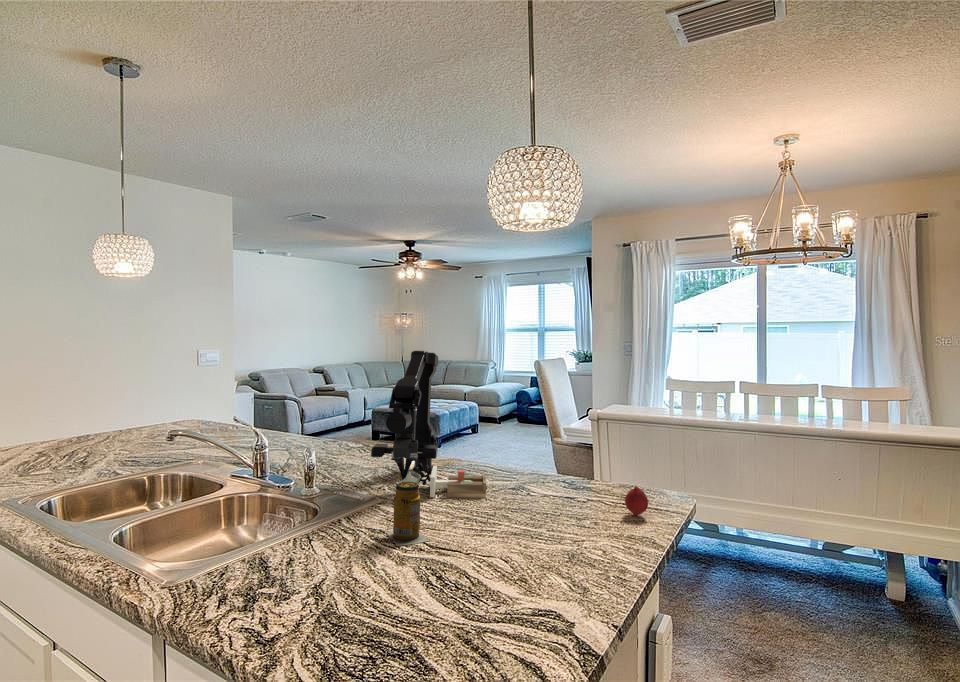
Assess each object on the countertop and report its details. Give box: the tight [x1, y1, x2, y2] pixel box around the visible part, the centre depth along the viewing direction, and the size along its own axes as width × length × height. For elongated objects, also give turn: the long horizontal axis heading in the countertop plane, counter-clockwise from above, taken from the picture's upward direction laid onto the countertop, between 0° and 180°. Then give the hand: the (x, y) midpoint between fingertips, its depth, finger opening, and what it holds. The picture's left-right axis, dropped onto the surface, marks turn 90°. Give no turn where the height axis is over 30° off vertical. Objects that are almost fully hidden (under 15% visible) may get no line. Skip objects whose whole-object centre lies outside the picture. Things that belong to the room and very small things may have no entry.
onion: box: [624, 484, 649, 516], centre depth 134 cm, size 6×6×8 cm
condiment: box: [386, 481, 429, 547], centre depth 117 cm, size 7×8×12 cm
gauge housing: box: [446, 473, 487, 499], centre depth 151 cm, size 10×11×4 cm
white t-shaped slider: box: [429, 465, 471, 498], centre depth 151 cm, size 12×12×6 cm
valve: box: [401, 463, 432, 486], centre depth 149 cm, size 7×7×12 cm
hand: (404, 480), depth 150 cm, fingers closed
